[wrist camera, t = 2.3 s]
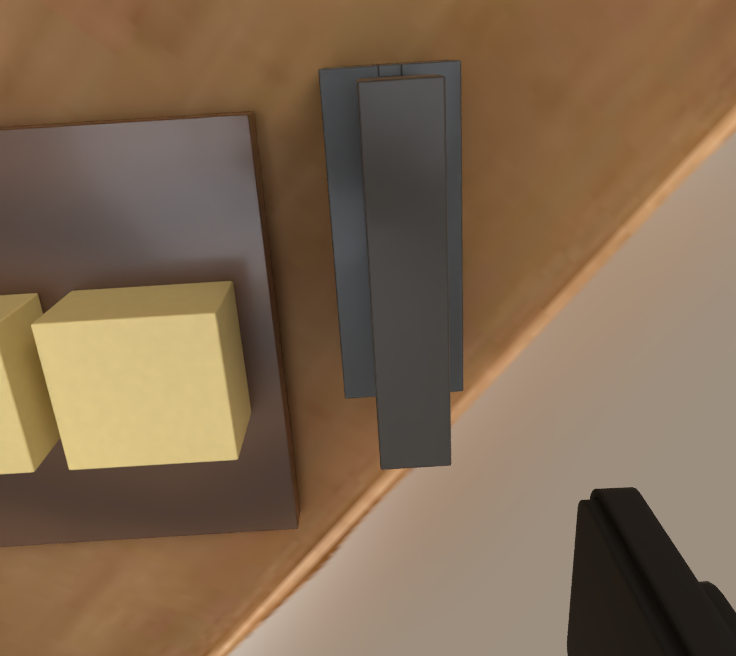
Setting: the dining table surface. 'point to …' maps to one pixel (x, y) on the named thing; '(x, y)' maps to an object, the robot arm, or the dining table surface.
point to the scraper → (408, 264)
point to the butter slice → (23, 389)
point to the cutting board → (148, 268)
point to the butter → (146, 374)
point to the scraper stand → (350, 214)
